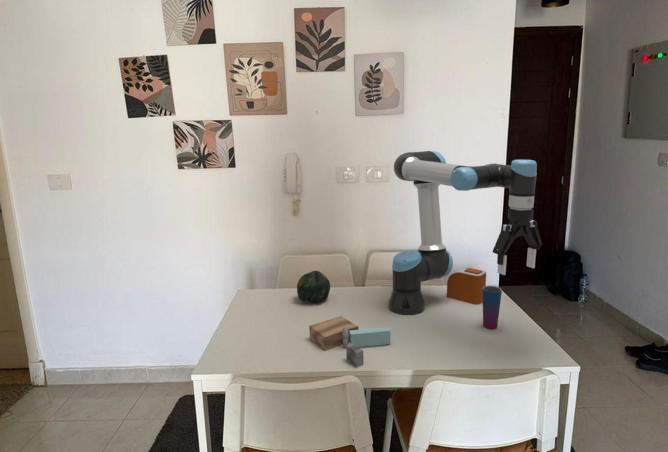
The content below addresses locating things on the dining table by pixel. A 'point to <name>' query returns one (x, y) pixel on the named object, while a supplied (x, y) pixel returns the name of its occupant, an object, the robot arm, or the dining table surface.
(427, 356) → the dining table surface
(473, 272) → the brown toaster
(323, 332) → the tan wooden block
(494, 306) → the cup
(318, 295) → the squash
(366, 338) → the teal block
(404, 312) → the robot arm
